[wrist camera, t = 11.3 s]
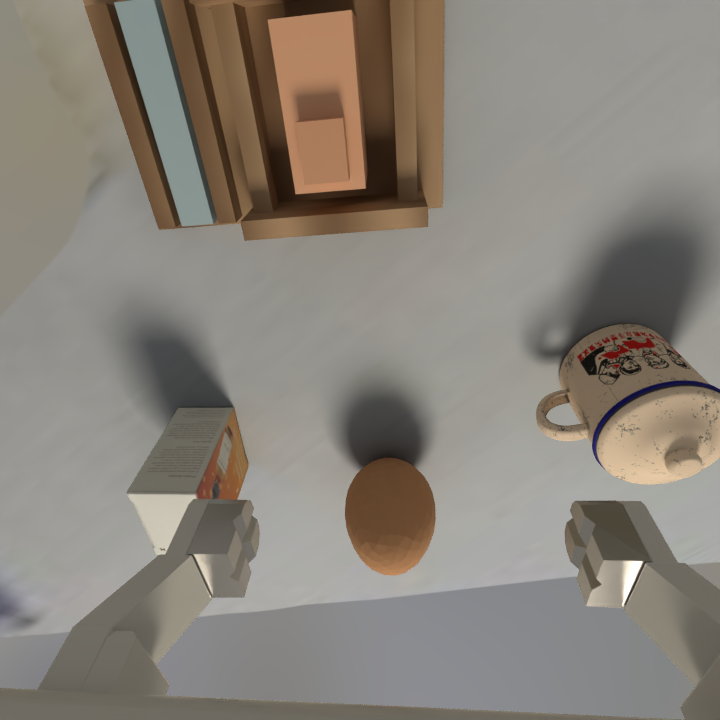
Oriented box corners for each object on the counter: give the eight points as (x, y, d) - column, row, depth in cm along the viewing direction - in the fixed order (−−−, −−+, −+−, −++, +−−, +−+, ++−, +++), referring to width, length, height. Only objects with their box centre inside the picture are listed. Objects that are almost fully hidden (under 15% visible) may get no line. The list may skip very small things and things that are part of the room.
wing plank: (164, 0, 25) (153, -3, 24) (220, 217, 32) (213, 224, 31) (127, 5, 25) (113, 2, 24) (189, 220, 32) (182, 226, 31)
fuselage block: (356, 18, 25) (350, 7, 20) (368, 170, 30) (365, 193, 24) (286, 26, 26) (261, 17, 20) (307, 175, 30) (292, 199, 25)
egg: (385, 423, 43) (387, 524, 34) (447, 465, 46) (464, 569, 36) (332, 469, 47) (319, 571, 37) (392, 505, 50) (394, 609, 40)
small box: (249, 465, 47) (219, 558, 38) (196, 465, 47) (154, 557, 39) (235, 405, 43) (196, 494, 34) (176, 405, 43) (124, 493, 34)
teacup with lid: (673, 307, 35) (784, 400, 26) (664, 397, 40) (754, 504, 30) (515, 340, 38) (562, 437, 28) (524, 421, 42) (567, 529, 33)
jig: (442, -42, 25) (455, -64, 20) (440, 202, 32) (449, 225, 27) (94, 1, 26) (37, -11, 22) (166, 224, 33) (133, 249, 29)
